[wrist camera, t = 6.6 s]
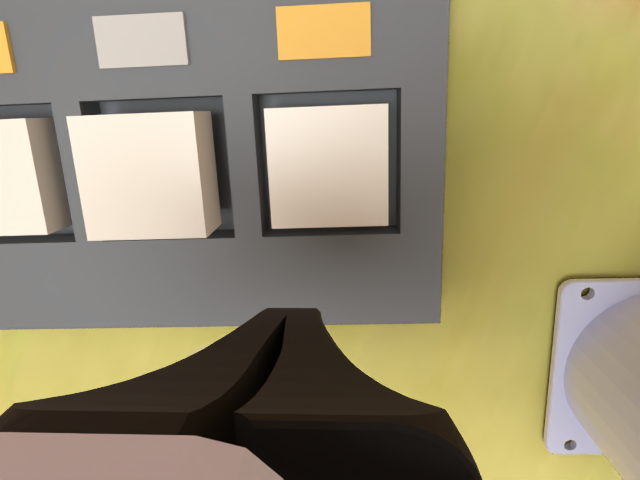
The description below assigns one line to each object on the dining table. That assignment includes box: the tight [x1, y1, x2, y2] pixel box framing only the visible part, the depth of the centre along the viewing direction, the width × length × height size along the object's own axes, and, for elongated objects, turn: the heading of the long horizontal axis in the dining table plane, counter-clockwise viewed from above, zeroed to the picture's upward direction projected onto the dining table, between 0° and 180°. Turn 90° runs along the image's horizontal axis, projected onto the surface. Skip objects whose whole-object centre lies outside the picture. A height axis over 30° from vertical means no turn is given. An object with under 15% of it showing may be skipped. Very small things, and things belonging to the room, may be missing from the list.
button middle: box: [66, 111, 222, 241], centre depth 16 cm, size 4×4×2 cm
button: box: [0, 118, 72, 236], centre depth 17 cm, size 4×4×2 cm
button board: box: [0, 0, 450, 330], centre depth 18 cm, size 20×12×2 cm, turn 92°
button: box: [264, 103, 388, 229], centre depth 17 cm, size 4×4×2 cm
